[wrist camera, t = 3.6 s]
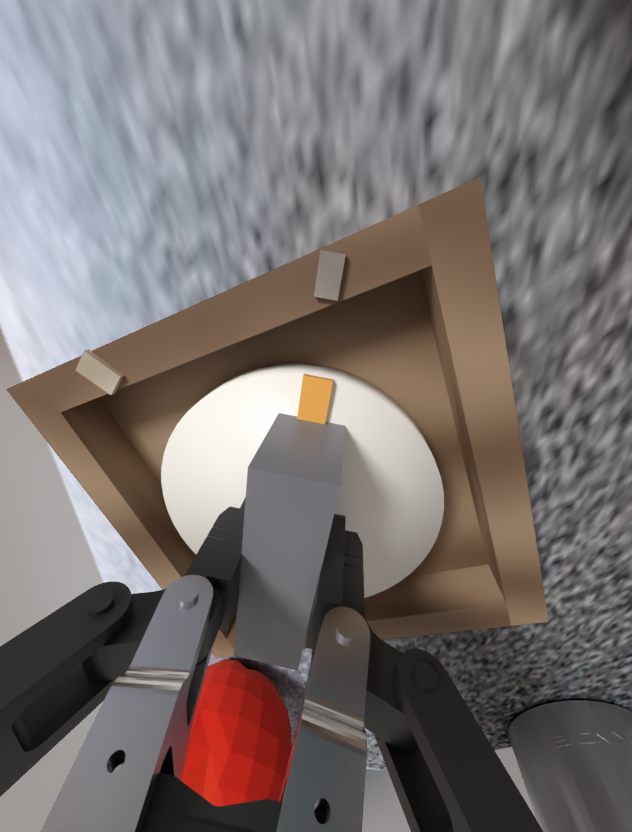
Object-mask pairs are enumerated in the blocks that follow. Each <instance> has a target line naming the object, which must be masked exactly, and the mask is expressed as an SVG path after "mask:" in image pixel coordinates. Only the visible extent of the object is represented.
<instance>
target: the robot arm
mask: <svg viewBox="0 0 632 832" xmlns="http://www.w3.org/2000/svg"><path fill="white" fill-rule="evenodd" d="M245 499H246V497H245ZM245 499H244V501H243V503H242V505H241V507H240V508H235V507H228V508H227V509H226V510H225V511H223V512H222V513H221V514H220V515H219V516H218V518H217V519H216V521H215V523H214V525H213V527H212V528H211V530H210V532H209V533H208V536H207V537H206V539H205V540H204V542H203V544H202V546H201V547H200V549H199V551H198V553H197V554H196V556H195V558H194V560H193V561H192V563H191V565H190V567H189V568H188V570H187V572H186V573H185V575H184V576H183V577H181V578H179V579H177V580H175V581H174V582H173V583H171V584H170V585H169V586H168V587H167V588H166V589H164V590H160V591H155V592H147V593H138V594H131V592H130V589H129V588H128V587H127V586H126V585H125V584H123V583H120V582H106V583H102V584H99V585H97V586H94V587H92V588H91V589H89V590H87V591H86V592H84V593H83V594H81V595H80V596H78V597H77V598H75V599H73V600H72V601H71V602H69V603H67V604H66V605H64V606H62V607H61V608H59V609H58V610H56V611H55V612H53V613H52V614H51V615H49V616H47V617H45V618H44V619H42V620H41V621H39V622H38V623H36V624H35V625H33V626H31V627H30V628H29V629H27V630H25V631H24V632H22V633H21V634H19V635H18V636H16V637H15V638H13V639H11V640H10V641H8V642H7V643H5V644H4V645H2V646H1V647H0V796H1V795H2V794H4V792H6V791H7V790H8V789H9V788H10V787H11V786H12V785H13V784H14V783H15V782H17V781H18V780H19V779H20V778H21V777H22V776H23V775H24V774H25V773H26V772H27V771H28V770H29V769H31V768H32V767H33V766H34V765H35V764H36V763H37V762H38V761H39V760H40V759H41V758H42V757H43V756H44V755H46V754H47V752H49V751H50V750H51V749H52V748H53V747H54V746H55V745H56V744H57V743H58V742H59V741H61V740H62V739H63V738H64V737H65V736H66V735H67V734H68V733H69V732H70V731H71V730H72V729H73V728H75V727H76V726H77V725H78V724H79V723H80V722H81V721H82V720H83V719H84V718H85V717H86V716H87V715H88V714H90V713H91V712H92V711H93V710H94V709H95V708H96V707H97V706H98V705H99V704H100V703H101V702H102V701H103V704H102V706H101V708H100V710H99V712H98V714H97V716H96V718H95V720H94V722H93V724H92V726H91V728H90V730H89V732H88V734H87V737H86V739H85V741H84V743H83V745H82V747H81V749H80V751H79V754H78V755H77V757H76V759H75V761H74V763H73V765H72V768H71V770H70V772H69V774H68V776H67V778H66V780H65V782H64V784H63V786H62V788H61V790H60V792H59V795H58V797H57V799H56V801H55V803H54V805H53V807H52V809H51V811H50V813H49V815H48V817H47V819H46V821H45V823H44V826H43V827H42V830H41V832H362V817H363V803H364V788H365V787H364V786H365V772H366V758H367V735H366V731H365V730H364V727H365V728H367V729H368V730H369V731H371V732H372V733H374V734H375V737H376V740H377V743H378V745H379V748H380V751H381V753H382V756H383V759H384V761H385V764H386V767H387V769H388V772H389V775H390V777H391V780H392V782H393V785H394V788H395V790H396V793H397V796H398V798H399V801H400V803H401V806H402V809H403V811H404V814H405V817H406V819H407V822H408V825H409V827H410V830H411V832H632V711H630V710H628V709H625V708H623V707H620V706H617V705H613V704H609V703H604V702H597V701H588V700H570V701H560V702H553V703H549V704H544V705H540V706H538V707H535V708H532V709H529V710H527V711H526V712H524V713H522V714H520V715H519V716H518V717H517V718H516V719H514V720H513V722H512V723H511V725H510V727H509V732H508V735H509V738H510V741H511V744H512V747H513V750H514V753H515V756H516V759H517V762H518V765H519V768H520V771H521V774H522V777H523V780H524V783H525V786H526V789H527V792H528V795H529V798H530V801H531V804H532V807H533V810H534V813H535V817H536V818H535V817H534V815H533V814H532V812H531V810H530V809H529V807H528V805H527V804H526V802H525V800H524V799H523V797H522V795H521V794H520V792H519V790H518V789H517V787H516V786H515V784H514V782H513V781H512V779H511V777H510V776H509V774H508V772H507V771H506V769H505V767H504V766H503V764H502V762H501V761H500V759H499V758H498V756H497V754H496V753H495V751H494V749H493V748H492V746H491V744H490V743H489V741H488V739H487V738H486V736H485V734H484V733H483V731H482V729H481V728H480V726H479V724H478V723H477V721H476V720H475V718H474V716H473V715H472V713H471V711H470V710H469V708H468V706H467V705H466V703H465V701H464V700H463V698H462V696H461V695H460V693H459V691H458V690H457V688H456V687H455V685H454V683H453V682H452V680H451V678H450V677H449V675H448V673H447V672H446V670H445V669H444V667H443V666H442V664H441V663H440V662H439V661H438V660H437V659H436V658H435V657H434V656H433V655H431V654H430V653H428V652H426V651H424V650H421V649H409V650H407V651H405V652H404V653H402V652H400V651H399V650H397V649H395V648H394V647H392V646H390V645H389V644H387V643H385V642H384V641H382V640H381V639H380V638H379V637H378V636H377V635H376V634H375V633H374V632H373V631H372V629H371V628H370V626H369V624H368V622H367V619H366V616H365V604H364V570H363V544H362V542H361V540H360V538H359V536H358V534H357V533H356V532H351V531H346V530H345V521H346V517H345V516H344V515H339V514H334V517H333V522H332V526H331V530H330V534H329V539H328V543H327V547H326V551H325V556H324V560H323V564H322V568H321V571H320V575H319V579H318V583H317V588H316V592H315V596H314V601H313V605H312V609H311V613H310V618H309V625H308V633H307V640H306V648H310V649H313V650H312V659H311V667H310V671H309V675H308V679H307V683H306V687H305V692H304V696H303V701H302V705H301V709H300V714H299V718H298V722H297V727H296V731H295V735H294V740H293V744H292V748H291V753H290V757H289V761H288V765H287V769H286V773H285V778H284V782H283V786H282V790H281V794H280V799H279V801H275V800H271V799H262V800H256V801H250V802H244V803H238V804H232V805H226V806H214V805H213V804H211V803H210V802H208V801H207V800H206V799H204V798H203V797H202V796H200V795H199V794H198V793H197V792H195V791H194V790H193V789H191V788H190V787H189V786H187V785H186V784H185V783H183V782H182V781H181V778H182V774H183V770H184V765H185V761H186V756H187V750H188V744H189V738H190V733H191V728H192V724H193V720H194V717H195V713H196V709H197V705H198V701H199V698H200V694H201V690H202V686H203V682H204V679H205V675H206V671H207V667H208V663H209V660H210V656H211V651H212V646H213V644H214V641H215V639H216V636H217V633H218V631H219V628H221V629H225V630H228V628H229V626H230V623H231V620H232V617H233V615H234V612H235V609H236V606H237V603H238V597H239V584H240V571H241V558H242V554H241V552H242V539H243V526H244V512H245Z"/></svg>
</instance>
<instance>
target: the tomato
mask: <svg viewBox="0 0 632 832" xmlns="http://www.w3.org/2000/svg"><path fill="white" fill-rule="evenodd" d="M291 748H292V746H291V727H290V721H289V716H288V711H287V708H286V706H285V705H284V703H283V701H282V699H281V697H280V695H279V694H278V692H277V690H276V688H275V686H274V685H273V683H272V682H271V680H270V679H269V678H268V677H267V676H266V675H265V674H263V673H261V672H258V671H256V670H251V669H247V668H246V667H245V666H244V665H242V664H241V663H240V662H239V661H236V660H229V659H227V660H223V661H220V662H218V663H215V664H213V665H210V666H208V667H207V671H206V675H205V679H204V682H203V686H202V690H201V694H200V698H199V701H198V705H197V709H196V713H195V717H194V720H193V724H192V728H191V733H190V738H189V744H188V750H187V756H186V761H185V765H184V770H183V774H182V778H181V781H182V782H183V783H185V784H186V785H187V786H189V787H190V788H191V789H193V790H194V791H195V792H197V793H198V794H199V795H200V796H202V797H203V798H204V799H206V800H207V801H208V802H210V803H211V804H213V805H214V806H226V805H232V804H238V803H244V802H250V801H256V800H262V799H271V800H275V801H279V799H280V794H281V790H282V786H283V782H284V778H285V773H286V769H287V765H288V761H289V757H290V753H291Z"/></svg>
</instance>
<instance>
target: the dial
mask: <svg viewBox="0 0 632 832" xmlns="http://www.w3.org/2000/svg"><path fill="white" fill-rule="evenodd" d="M161 484H162V491H163V497H164V501H165V504H166V507H167V511H168V513H169V515H170V517H171V520H172V522H173V524H174V526H175V527H176V529H177V531H178V532H179V534H180V536H181V537H182V538H183V540H184V541H185V542H186V544H187V545H188V546H189V547H190V549H191V550H192V551H193V552H194V553H195V554H197V553H198V551H199V549H200V547H201V546H202V544H203V542H204V540H205V539H206V537H207V536H208V533H209V532H210V530H211V528H212V527H213V525H214V523H215V521H216V519H217V518H218V516H219V515H220V514H221V513H222V512H223V511H225V510H226V509H227V508H228V507H235V508H240V507H241V505H242V503H243V501H244V499H245V497H246V499H245V512H244V526H243V539H242V552H241V554H242V558H241V571H240V584H239V597H238V605H237V619H236V632H235V645H234V656H237V657H241V658H246V659H250V660H255V661H259V662H263V663H268V664H272V665H277V666H281V667H286V668H290V669H295V670H298V666H299V662H300V658H301V653H302V649H303V645H304V641H305V636H306V632H307V628H308V624H309V618H310V613H311V609H312V605H313V601H314V596H315V592H316V588H317V583H318V579H319V575H320V571H321V568H322V564H323V560H324V556H325V551H326V547H327V543H328V539H329V534H330V530H331V526H332V522H333V517H334V514H339V515H344V516H345V517H346V521H345V530H346V531H351V532H356V533H357V534H358V536H359V538H360V540H361V542H362V544H363V570H364V598H366V597H369V596H373V595H375V594H377V593H380V592H382V591H384V590H386V589H388V588H390V587H392V586H393V585H395V584H397V583H399V582H400V581H401V580H403V579H404V578H405V577H407V576H408V575H409V574H411V573H412V572H413V571H414V570H415V569H416V568H417V567H418V566H419V565H420V564H421V563H422V561H423V560H424V559H425V557H426V556H427V555H428V553H429V552H430V550H431V548H432V547H433V545H434V543H435V541H436V539H437V536H438V534H439V531H440V528H441V525H442V519H443V513H444V491H443V486H442V480H441V476H440V473H439V470H438V467H437V465H436V462H435V459H434V457H433V455H432V453H431V450H430V448H429V446H428V443H427V441H426V439H425V437H424V436H423V434H422V432H421V430H420V428H419V426H418V425H417V424H416V422H415V421H414V420H413V418H412V417H411V416H410V414H409V413H408V412H407V411H406V410H405V409H404V408H403V407H402V406H401V405H400V404H399V403H398V402H397V401H396V400H395V399H394V398H393V397H391V396H390V395H389V394H387V393H386V392H385V391H383V390H382V389H381V388H379V387H378V386H376V385H374V384H372V383H371V382H369V381H367V380H365V379H363V378H362V377H359V376H357V375H354V374H352V373H349V372H346V371H344V370H341V369H337V368H333V367H329V366H325V365H318V364H310V363H279V364H273V365H266V366H262V367H258V368H255V369H251V370H248V371H245V372H243V373H241V374H239V375H237V376H234V377H232V378H230V379H229V380H227V381H226V382H224V383H222V384H221V385H219V386H218V387H216V388H215V389H214V390H213V391H211V392H210V393H209V394H207V395H206V396H205V397H204V398H202V399H201V400H200V401H199V402H198V403H197V404H195V405H194V406H193V407H192V408H191V409H190V410H189V411H188V412H187V413H186V414H185V415H184V416H183V418H182V419H181V420H180V421H179V423H178V424H177V425H176V427H175V429H174V431H173V432H172V434H171V436H170V438H169V440H168V443H167V446H166V449H165V451H164V456H163V461H162V467H161Z"/></svg>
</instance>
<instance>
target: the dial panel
mask: <svg viewBox="0 0 632 832" xmlns="http://www.w3.org/2000/svg"><path fill="white" fill-rule="evenodd" d="M279 363H310V364H318V365H325V366H329V367H333V368H337V369H341V370H344V371H346V372H349V373H352V374H354V375H357V376H359V377H362V378H363V379H365V380H367V381H369V382H371V383H372V384H374V385H376V386H378V387H379V388H381V389H382V390H383V391H385V392H386V393H387V394H389V395H390V396H391V397H393V398H394V399H395V400H396V401H397V402H398V403H399V404H400V405H401V406H402V407H403V408H404V409H405V410H406V411H407V412H408V413H409V414H410V416H411V417H412V418H413V420H414V421H415V422H416V424H417V425H418V426H419V428H420V430H421V432H422V434H423V436H424V437H425V439H426V441H427V443H428V446H429V448H430V450H431V453H432V455H433V457H434V459H435V462H436V465H437V467H438V470H439V473H440V476H441V480H442V486H443V491H444V513H443V519H442V525H441V528H440V531H439V534H438V536H437V539H436V541H435V543H434V545H433V547H432V548H431V550H430V552H429V553H428V555H427V556H426V557H425V559H424V560H423V561H422V563H421V564H420V565H419V566H418V567H417V568H416V569H415V570H414V571H413V572H412V573H411V574H409V575H408V576H407V577H405V578H404V579H403V580H401V581H400V582H399V583H397V584H395V585H393V586H392V587H390V588H388V589H386V590H384V591H382V592H380V593H377V594H375V595H373V596H369V597H366V598H364V604H365V616H366V619H367V622H368V624H369V626H370V628H371V629H372V631H373V632H374V633H375V634H376V635H377V636H378V637H379V638H380V639H381V640H387V639H396V638H405V637H414V636H423V635H433V634H442V633H451V632H460V631H469V630H478V629H487V628H496V627H505V626H514V625H523V624H532V623H541V622H549V621H548V614H547V608H546V601H545V595H544V588H543V582H542V575H541V569H540V562H539V556H538V549H537V543H536V536H535V530H534V523H533V517H532V510H531V504H530V497H529V491H528V485H527V478H526V472H525V465H524V459H523V452H522V446H521V439H520V433H519V426H518V420H517V413H516V407H515V400H514V394H513V387H512V381H511V374H510V368H509V361H508V355H507V348H506V342H505V335H504V329H503V322H502V316H501V309H500V303H499V296H498V290H497V283H496V277H495V270H494V264H493V258H492V251H491V245H490V238H489V232H488V225H487V219H486V212H485V206H484V199H483V193H482V186H481V180H480V177H479V178H477V179H475V180H473V181H470V182H468V183H466V184H464V185H462V186H459V187H457V188H455V189H453V190H450V191H448V192H446V193H444V194H441V195H439V196H437V197H435V198H432V199H430V200H428V201H426V202H424V203H421V204H419V205H417V206H415V207H412V208H410V209H408V210H406V211H403V212H401V213H399V214H397V215H395V216H392V217H390V218H388V219H386V220H383V221H381V222H379V223H377V224H374V225H372V226H370V227H368V228H365V229H363V230H361V231H359V232H357V233H354V234H352V235H350V236H348V237H345V238H343V239H341V240H339V241H336V242H334V243H332V244H330V245H328V246H325V247H323V248H321V249H319V250H316V251H314V252H312V253H310V254H307V255H305V256H303V257H301V258H298V259H296V260H294V261H292V262H290V263H287V264H285V265H283V266H281V267H278V268H276V269H274V270H272V271H269V272H267V273H265V274H263V275H261V276H258V277H256V278H254V279H252V280H249V281H247V282H245V283H243V284H240V285H238V286H236V287H234V288H231V289H229V290H227V291H225V292H223V293H220V294H218V295H216V296H214V297H211V298H209V299H207V300H205V301H202V302H200V303H198V304H196V305H193V306H191V307H189V308H187V309H185V310H182V311H180V312H178V313H176V314H173V315H171V316H169V317H167V318H164V319H162V320H160V321H158V322H156V323H153V324H151V325H149V326H147V327H144V328H142V329H140V330H138V331H135V332H133V333H131V334H129V335H126V336H124V337H122V338H120V339H118V340H115V341H113V342H111V343H109V344H106V345H104V346H102V347H100V348H97V349H95V350H93V351H90V350H85V351H84V352H83V354H82V356H80V357H77V358H75V359H73V360H71V361H68V362H66V363H64V364H62V365H59V366H57V367H55V368H53V369H51V370H48V371H46V372H44V373H42V374H39V375H37V376H35V377H33V378H30V379H28V380H26V381H24V382H22V383H19V384H17V385H15V386H13V387H10V388H8V389H7V391H8V392H9V393H10V394H11V396H12V397H13V398H14V400H15V401H16V402H17V404H18V405H19V406H20V407H21V409H22V410H23V411H24V413H25V414H26V415H27V416H28V418H29V419H30V420H31V421H32V423H33V424H34V425H35V427H36V428H37V429H38V431H39V432H40V433H41V434H42V436H43V437H44V438H45V439H46V441H47V442H48V443H49V445H50V446H51V447H52V449H53V450H54V451H55V452H56V454H57V455H58V456H59V458H60V459H61V460H62V461H63V463H64V464H65V465H66V466H67V468H68V469H69V470H70V472H71V473H72V474H73V475H74V477H75V478H76V479H77V481H78V482H79V483H80V484H81V486H82V487H83V488H84V490H85V491H86V492H87V493H88V495H89V496H90V497H91V499H92V500H93V501H94V502H95V504H96V505H97V506H98V508H99V509H100V510H101V511H102V513H103V514H104V515H105V517H106V518H107V519H108V520H109V522H110V523H111V524H112V525H113V527H114V528H115V529H116V531H117V532H118V533H119V534H120V536H121V537H122V538H123V540H124V541H125V542H126V543H127V545H128V546H129V547H130V549H131V550H132V551H133V552H134V554H135V555H136V556H137V558H138V559H139V560H140V561H141V563H142V564H143V565H144V567H145V568H146V569H147V570H148V572H149V573H150V574H151V576H152V577H153V578H154V579H155V581H156V582H157V583H158V585H159V586H160V587H161V588H162V590H164V589H166V588H167V587H168V586H169V585H170V584H171V583H173V582H174V581H175V580H177V579H179V578H181V577H183V576H184V575H185V573H186V572H187V570H188V568H189V567H190V565H191V563H192V561H193V560H194V558H195V556H196V554H195V553H194V552H193V551H192V550H191V549H190V547H189V546H188V545H187V544H186V542H185V541H184V540H183V538H182V537H181V536H180V534H179V532H178V531H177V529H176V527H175V526H174V524H173V522H172V520H171V517H170V515H169V513H168V511H167V507H166V504H165V501H164V497H163V491H162V484H161V467H162V461H163V456H164V451H165V449H166V446H167V443H168V440H169V438H170V436H171V434H172V432H173V431H174V429H175V427H176V425H177V424H178V423H179V421H180V420H181V419H182V418H183V416H184V415H185V414H186V413H187V412H188V411H189V410H190V409H191V408H192V407H193V406H194V405H195V404H197V403H198V402H199V401H200V400H201V399H202V398H204V397H205V396H206V395H207V394H209V393H210V392H211V391H213V390H214V389H215V388H216V387H218V386H219V385H221V384H222V383H224V382H226V381H227V380H229V379H230V378H232V377H234V376H237V375H239V374H241V373H243V372H245V371H248V370H251V369H255V368H258V367H262V366H266V365H273V364H279ZM237 605H238V603H237ZM236 619H237V606H236V609H235V612H234V615H233V617H232V620H231V623H230V626H229V628H228V630H225V629H221V628H219V631H218V633H217V636H216V639H215V641H214V644H213V646H212V651H211V652H212V654H213V655H214V656H215V658H224V657H233V656H234V645H235V632H236ZM308 625H309V624H308ZM307 633H308V628H307V632H306V636H305V641H304V645H303V649H306V640H307Z"/></svg>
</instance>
